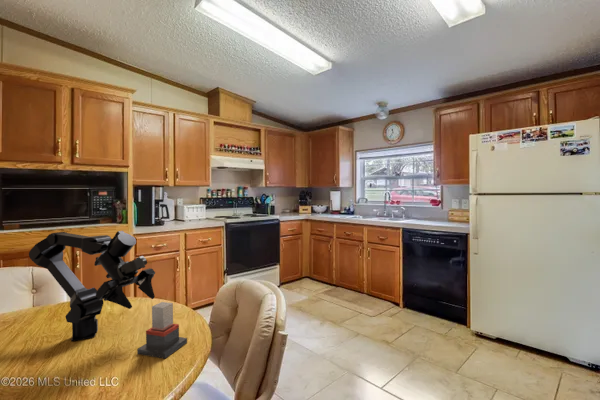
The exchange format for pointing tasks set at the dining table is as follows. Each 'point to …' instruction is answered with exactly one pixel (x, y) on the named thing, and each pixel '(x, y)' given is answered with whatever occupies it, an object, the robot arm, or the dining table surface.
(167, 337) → the stand
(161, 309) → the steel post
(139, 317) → the dining table surface
